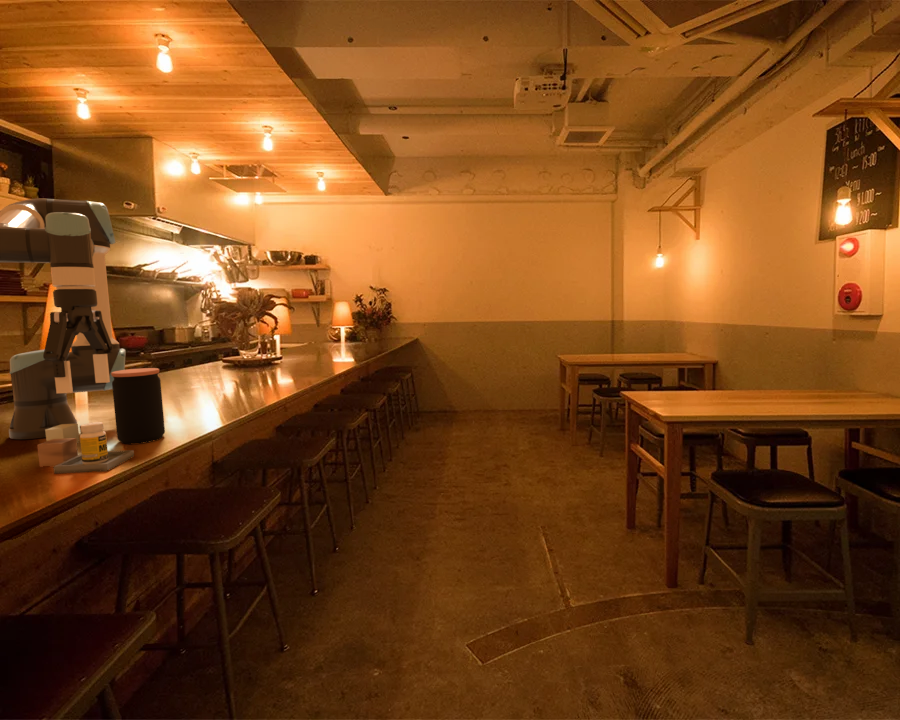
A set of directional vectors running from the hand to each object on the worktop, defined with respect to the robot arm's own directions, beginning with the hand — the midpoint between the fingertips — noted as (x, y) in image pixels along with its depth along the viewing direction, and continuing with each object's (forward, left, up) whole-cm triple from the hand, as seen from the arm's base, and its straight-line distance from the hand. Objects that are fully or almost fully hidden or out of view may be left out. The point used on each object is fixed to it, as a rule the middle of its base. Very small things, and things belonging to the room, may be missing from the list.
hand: (84, 387), depth 114 cm
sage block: (-18, -17, -17) cm, 30 cm away
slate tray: (+1, +1, -17) cm, 17 cm away
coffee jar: (-21, 0, -17) cm, 27 cm away
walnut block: (-2, -8, -17) cm, 19 cm away
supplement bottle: (+1, +1, -17) cm, 17 cm away
